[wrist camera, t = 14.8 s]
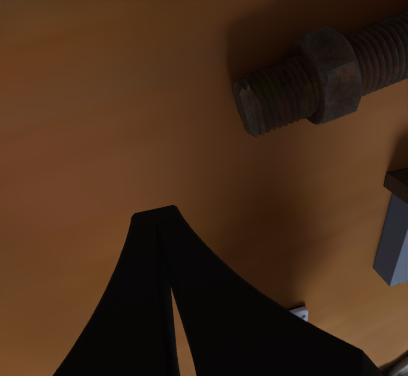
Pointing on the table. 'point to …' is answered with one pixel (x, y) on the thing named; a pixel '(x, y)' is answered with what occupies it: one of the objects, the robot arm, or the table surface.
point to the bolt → (324, 76)
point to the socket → (394, 244)
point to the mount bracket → (398, 183)
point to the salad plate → (398, 368)
